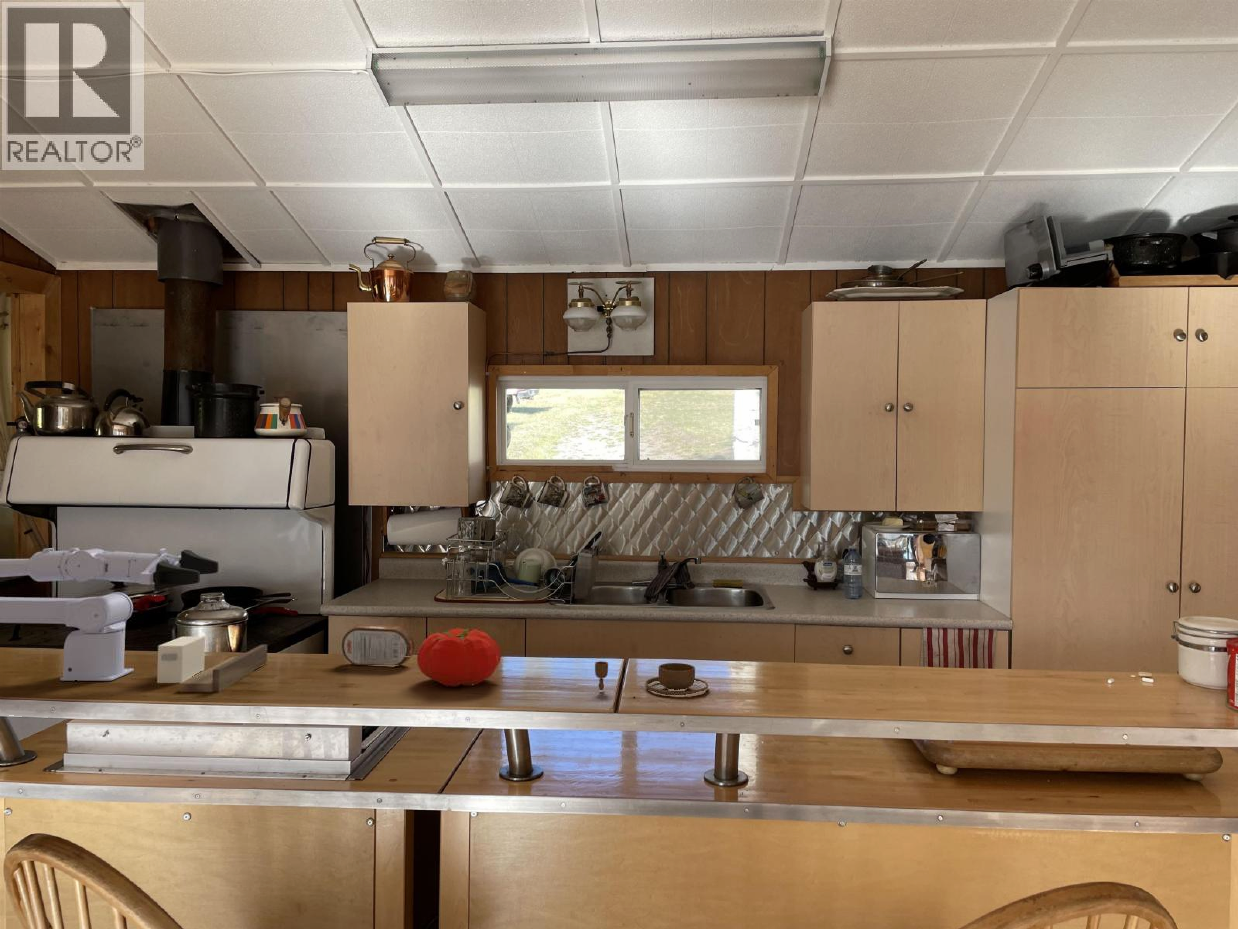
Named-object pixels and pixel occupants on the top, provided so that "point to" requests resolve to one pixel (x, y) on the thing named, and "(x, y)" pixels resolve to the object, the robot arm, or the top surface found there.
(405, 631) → the tin
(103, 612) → the robot arm
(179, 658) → the cabinet block
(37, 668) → the top surface
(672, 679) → the place setting
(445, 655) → the tomato
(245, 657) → the ledge board
